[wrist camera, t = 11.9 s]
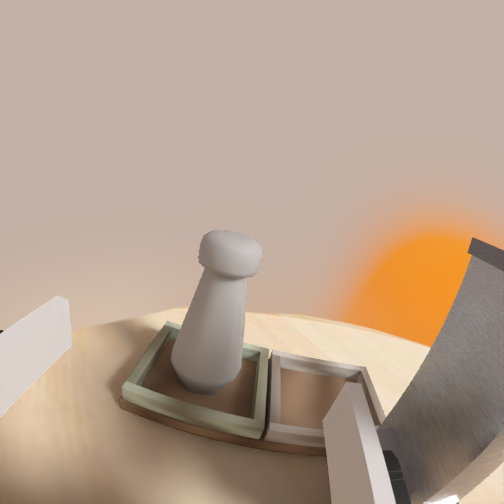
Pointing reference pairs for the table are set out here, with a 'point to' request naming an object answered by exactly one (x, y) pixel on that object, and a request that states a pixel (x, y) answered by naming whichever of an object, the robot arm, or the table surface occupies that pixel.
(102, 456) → the table surface
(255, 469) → the table surface
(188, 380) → the salt shaker
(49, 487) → the table surface
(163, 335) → the grey brown flat rectangle
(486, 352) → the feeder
